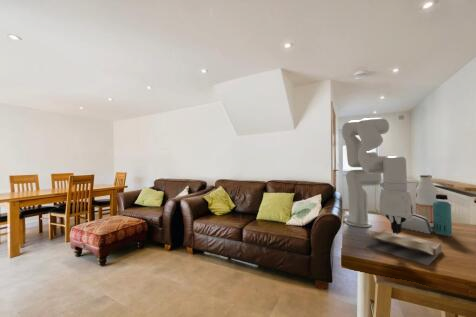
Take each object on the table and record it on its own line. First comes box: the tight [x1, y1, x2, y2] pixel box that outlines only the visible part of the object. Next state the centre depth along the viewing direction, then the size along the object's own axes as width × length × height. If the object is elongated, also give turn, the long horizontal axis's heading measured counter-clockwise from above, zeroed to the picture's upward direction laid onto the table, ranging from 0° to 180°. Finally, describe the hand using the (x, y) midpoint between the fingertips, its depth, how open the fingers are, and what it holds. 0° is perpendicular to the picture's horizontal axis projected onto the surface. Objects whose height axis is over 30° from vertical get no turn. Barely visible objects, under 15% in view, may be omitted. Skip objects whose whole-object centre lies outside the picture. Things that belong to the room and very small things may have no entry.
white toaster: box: [395, 212, 433, 235], centre depth 109 cm, size 17×5×10 cm, turn 32°
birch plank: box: [368, 230, 434, 255], centre depth 83 cm, size 19×8×2 cm, turn 34°
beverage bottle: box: [432, 193, 453, 236], centre depth 98 cm, size 6×7×20 cm
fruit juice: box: [415, 174, 439, 227], centre depth 114 cm, size 9×9×28 cm
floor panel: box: [365, 230, 442, 267], centre depth 85 cm, size 20×18×3 cm
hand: (396, 232), depth 82 cm, fingers closed
